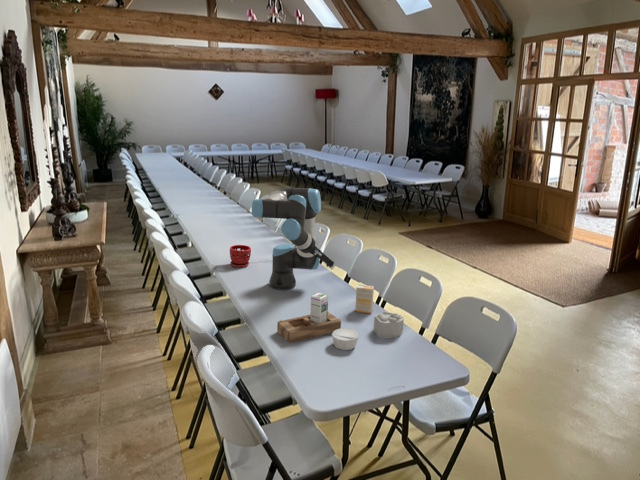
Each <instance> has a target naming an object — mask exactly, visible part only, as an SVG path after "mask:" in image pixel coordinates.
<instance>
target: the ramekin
mask: <svg viewBox="0 0 640 480" xmlns="http://www.w3.org/2000/svg"><path fill="white" fill-rule="evenodd" d="M331 337H332V343H333V345H334V347H335V348H336V349H339V350H342V351H350V350H354V348H355V347H356V345H357V342H358V339H359V334H358V332H357V331H356V330H354V329H351V328H346V327H345V328H342V327H341V329H337V330H335V331H334V332H333V333H331Z"/></svg>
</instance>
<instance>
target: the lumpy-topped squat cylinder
mask: <svg viewBox="0 0 640 480" xmlns="http://www.w3.org/2000/svg"><path fill="white" fill-rule="evenodd" d="M404 321H405V318H404V316H403V315H401V314H398V313H397V312H389V311H388V310H385V311H383V313H377V314H375V315H374V319H373V329H372V331H373V332H375V334H376V336H378V337H379V338H383V339H389V338H397V337H399V336H402V335H403V333H402V332H404V331H403V330H404Z"/></svg>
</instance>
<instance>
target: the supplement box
mask: <svg viewBox="0 0 640 480" xmlns="http://www.w3.org/2000/svg"><path fill="white" fill-rule="evenodd" d="M374 289H375V286H373V285H366V284H357V285H356V291H355V312H356V313H364V314H369V315H370V314H372V312H373V307H374V291H375V290H374Z"/></svg>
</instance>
